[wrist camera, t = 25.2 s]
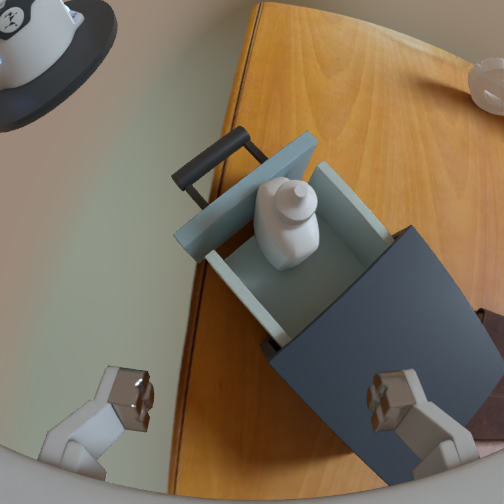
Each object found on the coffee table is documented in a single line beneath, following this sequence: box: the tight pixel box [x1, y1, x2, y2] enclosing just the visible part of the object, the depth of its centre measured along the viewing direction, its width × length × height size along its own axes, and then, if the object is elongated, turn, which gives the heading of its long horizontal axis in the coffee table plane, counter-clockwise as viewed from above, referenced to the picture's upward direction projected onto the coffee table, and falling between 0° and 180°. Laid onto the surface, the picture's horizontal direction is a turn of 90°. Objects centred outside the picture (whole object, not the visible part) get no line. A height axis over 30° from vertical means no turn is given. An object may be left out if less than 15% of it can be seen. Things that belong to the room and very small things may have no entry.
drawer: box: [171, 126, 395, 348], centre depth 25 cm, size 19×12×8 cm, turn 41°
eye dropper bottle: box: [253, 177, 319, 271], centre depth 22 cm, size 4×6×12 cm
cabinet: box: [260, 225, 504, 486], centre depth 24 cm, size 16×14×10 cm
